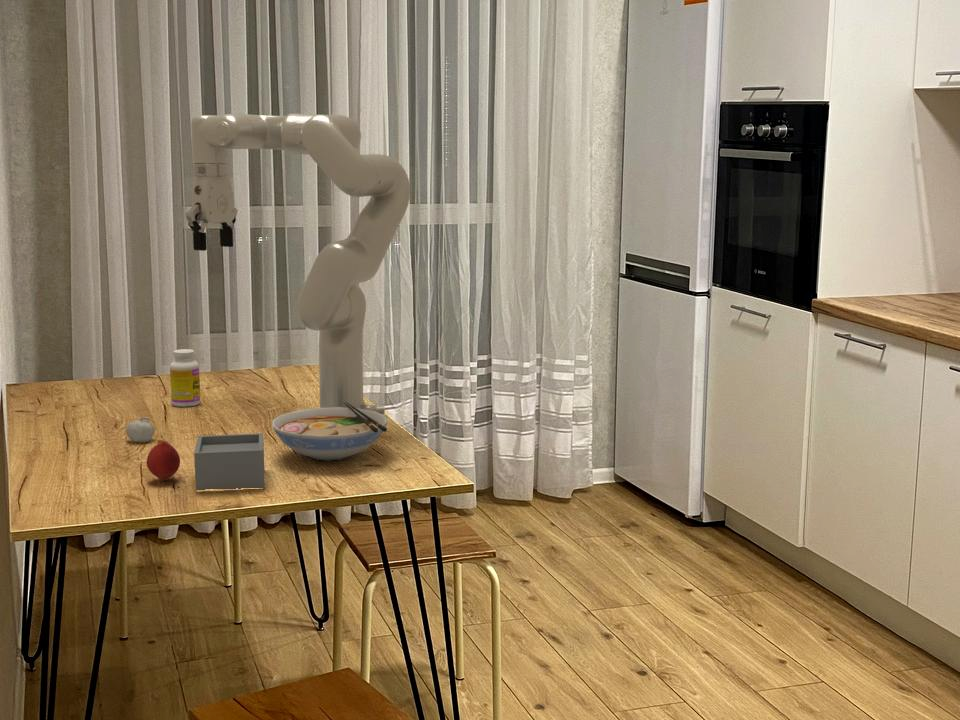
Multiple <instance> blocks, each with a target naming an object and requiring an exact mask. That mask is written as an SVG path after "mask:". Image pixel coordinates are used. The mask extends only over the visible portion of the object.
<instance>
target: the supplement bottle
mask: <svg viewBox="0 0 960 720" xmlns="http://www.w3.org/2000/svg"><path fill="white" fill-rule="evenodd" d="M194 357H195V350H194V349H190V348H189V349H188V348H183V349H176V350H173V358H174V360H173V361H172V362H171V363H170V365H169V373H170V374H169V375H170V396H171V397H170V399H171V404H172V405H173V406H175V407H181V408H189V407H190V408H191V407H195V406H197V405H199V404H200V403H201V387H200V385H201V382H200V381H201V380H200V364H199V362H198V361H196V360H195V359H194Z"/></svg>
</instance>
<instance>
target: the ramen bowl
mask: <svg viewBox="0 0 960 720" xmlns="http://www.w3.org/2000/svg"><path fill="white" fill-rule="evenodd" d="M344 404H345V403H344ZM347 404H348V403H347ZM347 404H345V405H346V406H347V407H348V408H344V407H330V408H320V407H315V408H307V409H300V410H299V409H298V410H294V411H290V412H286V413H283V414H281V415H278V416H277V417H275V418H273V419H272V422H271V423H272V424H271V426H272V429H273V430H274V433H275V434H276V435H277V437H278V438H279V439H280V440H281V442H282V443H283V444H284V445H285V446H286V447H288V448H290V449H291V450H293V451H294V452H296V453H297V454H298V455H303V456H305V457H310V458H312V459H314V460H315V459H317V460H316V461H319V460H326V461H325V462H330V461H329V460H339V461H342V460H341V459H343V460H346V459H348V458H349V457H350V456H354V455H357V454H359V453H362V452H364V451H365V450H367V449H368V448H369V447H371V446H372V445H373V444H375V443H376V441H377V440H378V439H379V438H380V436H381V435H382V433H383V432H388V429H387V427H386V426H387V424H388V418H387V416H386V415H385V414H380V413H378V412H375V411H370V410H365V409H360V408H355V407H353V406H352V405H350V404H348V405H349V406H351V407H352V408H350V407H349V406H348V405H347ZM345 458H346V459H345Z"/></svg>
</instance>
